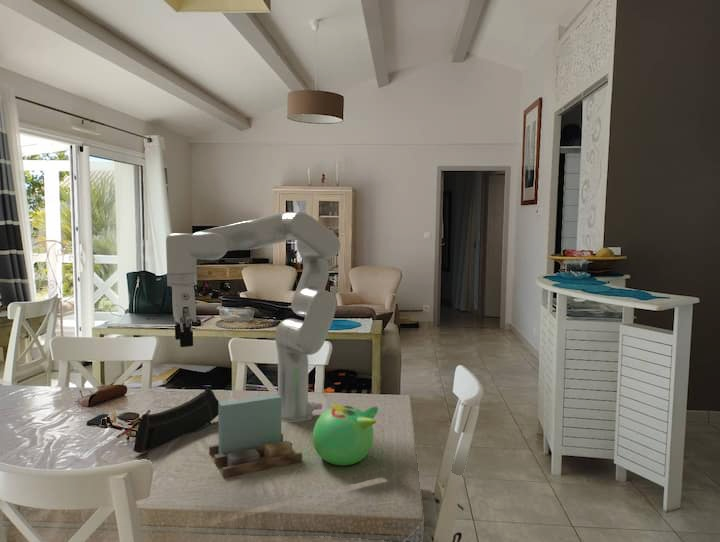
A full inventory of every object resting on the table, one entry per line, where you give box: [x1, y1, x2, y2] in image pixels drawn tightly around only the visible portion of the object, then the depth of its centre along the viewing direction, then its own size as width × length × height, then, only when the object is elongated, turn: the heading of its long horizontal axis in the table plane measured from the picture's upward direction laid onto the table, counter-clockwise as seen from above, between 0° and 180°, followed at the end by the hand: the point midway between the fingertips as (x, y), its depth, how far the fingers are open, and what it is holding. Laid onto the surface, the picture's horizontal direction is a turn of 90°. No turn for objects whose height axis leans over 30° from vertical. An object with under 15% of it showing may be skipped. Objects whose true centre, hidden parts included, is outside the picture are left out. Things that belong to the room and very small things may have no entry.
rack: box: [208, 432, 303, 480], centre depth 136 cm, size 20×16×3 cm
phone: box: [86, 413, 109, 427], centre depth 161 cm, size 8×1×15 cm
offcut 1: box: [227, 449, 260, 467], centre depth 131 cm, size 7×4×3 cm, turn 118°
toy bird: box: [312, 403, 379, 467], centre depth 136 cm, size 18×17×15 cm
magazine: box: [133, 387, 220, 454], centre depth 150 cm, size 17×3×30 cm
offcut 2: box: [264, 440, 293, 459], centre depth 135 cm, size 6×4×4 cm, turn 118°
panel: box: [217, 393, 282, 454], centre depth 139 cm, size 16×3×14 cm, turn 118°
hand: (184, 342), depth 142 cm, fingers open, 9 cm apart
